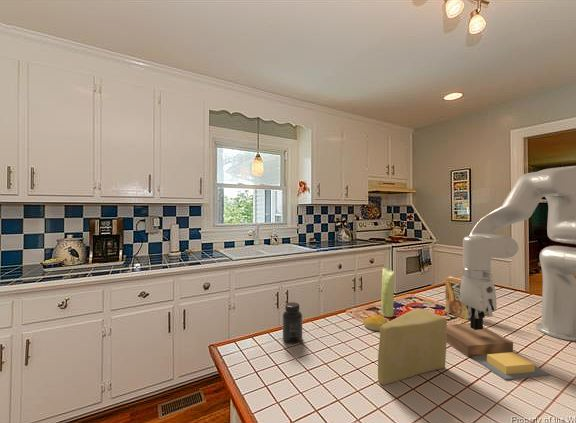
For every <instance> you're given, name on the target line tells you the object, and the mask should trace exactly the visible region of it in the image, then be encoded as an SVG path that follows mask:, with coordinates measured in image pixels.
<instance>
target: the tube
mask: <svg viewBox="0 0 576 423" xmlns="http://www.w3.org/2000/svg"><path fill="white" fill-rule="evenodd" d="M381 275H382V277H381V295H380V296H381V297H380V299H381V300H380V301H381V302H380V316H383V317H384V318H385V317H387V318H392V317H393V316H394V304H395V302H394V300H395V271H394V270H391V269H388V268H385V267H382V274H381Z"/></svg>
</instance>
